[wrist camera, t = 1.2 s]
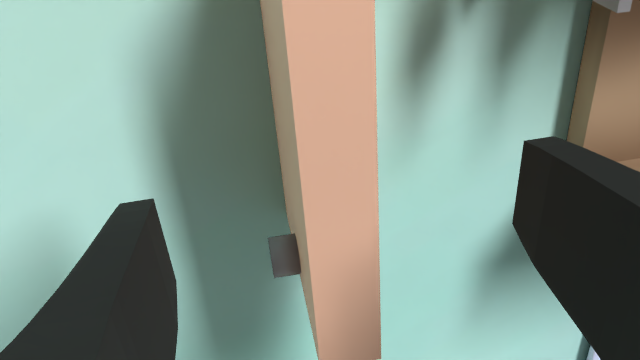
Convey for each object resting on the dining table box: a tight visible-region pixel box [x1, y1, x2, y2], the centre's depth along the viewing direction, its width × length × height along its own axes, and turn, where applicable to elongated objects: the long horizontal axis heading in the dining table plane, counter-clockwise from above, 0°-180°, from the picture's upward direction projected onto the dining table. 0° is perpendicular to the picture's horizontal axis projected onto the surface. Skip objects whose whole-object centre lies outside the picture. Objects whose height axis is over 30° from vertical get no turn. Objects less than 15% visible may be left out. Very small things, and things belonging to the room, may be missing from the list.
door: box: [260, 0, 381, 360], centre depth 15 cm, size 11×2×7 cm, turn 4°
